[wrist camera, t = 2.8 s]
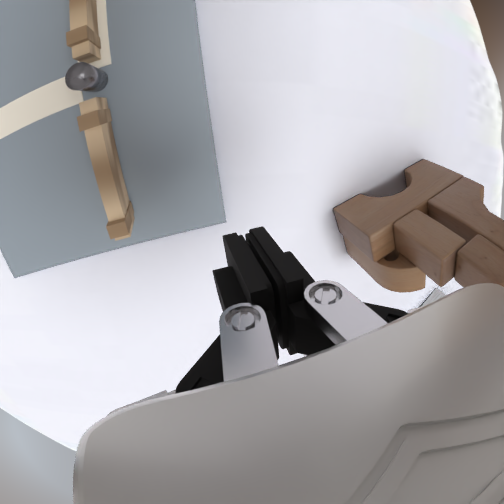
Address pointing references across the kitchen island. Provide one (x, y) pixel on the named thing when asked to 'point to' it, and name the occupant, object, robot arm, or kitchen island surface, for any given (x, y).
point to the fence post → (86, 78)
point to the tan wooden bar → (106, 166)
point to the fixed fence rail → (84, 31)
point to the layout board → (123, 124)
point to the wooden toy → (425, 232)
